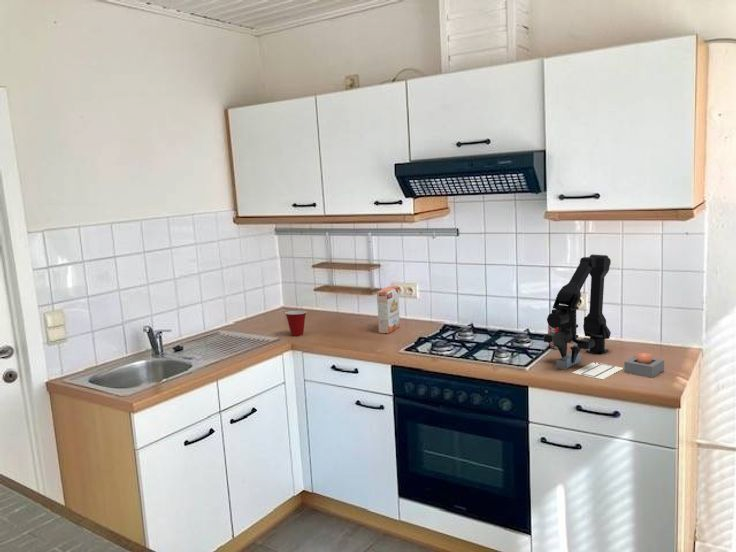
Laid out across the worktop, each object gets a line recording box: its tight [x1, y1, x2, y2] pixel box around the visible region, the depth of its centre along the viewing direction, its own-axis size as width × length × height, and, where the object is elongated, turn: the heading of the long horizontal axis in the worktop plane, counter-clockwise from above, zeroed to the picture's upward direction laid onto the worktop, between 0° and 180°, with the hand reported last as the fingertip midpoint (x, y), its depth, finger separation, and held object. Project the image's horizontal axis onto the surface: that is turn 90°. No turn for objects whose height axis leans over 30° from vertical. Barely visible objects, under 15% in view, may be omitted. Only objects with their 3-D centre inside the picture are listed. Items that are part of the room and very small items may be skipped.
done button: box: [636, 351, 653, 364], centre depth 226 cm, size 5×5×4 cm
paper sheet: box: [571, 361, 624, 380], centre depth 231 cm, size 16×12×1 cm
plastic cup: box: [284, 310, 308, 337], centre depth 310 cm, size 11×11×12 cm
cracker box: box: [376, 286, 400, 334], centre depth 307 cm, size 14×6×21 cm, turn 154°
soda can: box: [547, 323, 559, 350], centre depth 262 cm, size 7×7×12 cm
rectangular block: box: [556, 352, 582, 370], centre depth 239 cm, size 12×3×3 cm, turn 132°
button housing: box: [623, 355, 665, 378], centre depth 227 cm, size 10×10×4 cm
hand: (568, 362), depth 239 cm, fingers closed on rectangular block, 3 cm apart
